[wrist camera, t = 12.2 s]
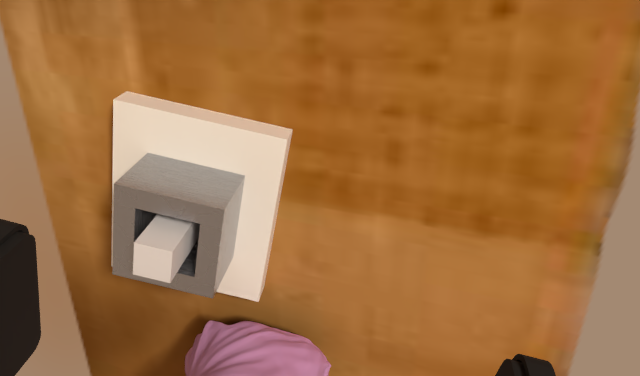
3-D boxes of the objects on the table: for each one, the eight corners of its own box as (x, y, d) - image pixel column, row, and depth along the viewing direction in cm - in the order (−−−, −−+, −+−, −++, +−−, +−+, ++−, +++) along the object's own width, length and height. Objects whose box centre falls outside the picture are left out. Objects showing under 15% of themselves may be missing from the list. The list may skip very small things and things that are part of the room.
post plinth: (126, 91, 37) (52, 136, 29) (292, 129, 37) (264, 185, 29) (122, 252, 43) (61, 326, 35) (264, 286, 43) (234, 368, 35)
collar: (147, 152, 37) (113, 183, 32) (245, 175, 36) (224, 209, 32) (143, 235, 40) (112, 274, 35) (233, 256, 40) (212, 298, 35)
